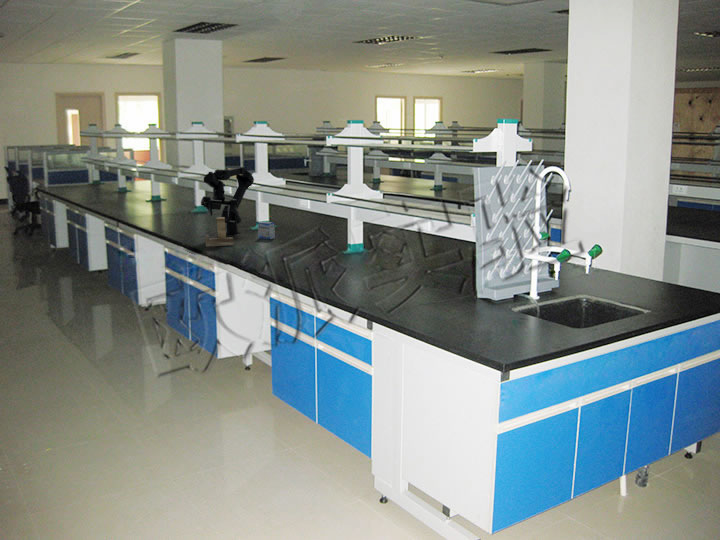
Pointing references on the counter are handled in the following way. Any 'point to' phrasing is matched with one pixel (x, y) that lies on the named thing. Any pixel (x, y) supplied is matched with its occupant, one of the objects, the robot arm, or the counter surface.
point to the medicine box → (266, 230)
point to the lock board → (218, 241)
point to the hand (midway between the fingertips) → (220, 216)
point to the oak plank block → (221, 227)
